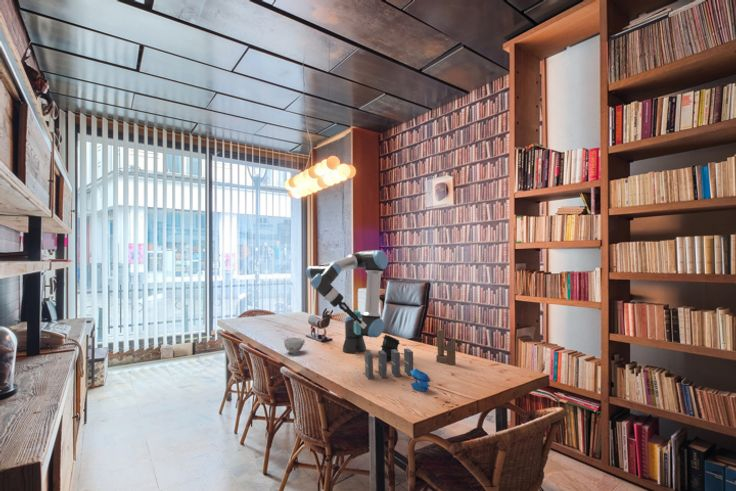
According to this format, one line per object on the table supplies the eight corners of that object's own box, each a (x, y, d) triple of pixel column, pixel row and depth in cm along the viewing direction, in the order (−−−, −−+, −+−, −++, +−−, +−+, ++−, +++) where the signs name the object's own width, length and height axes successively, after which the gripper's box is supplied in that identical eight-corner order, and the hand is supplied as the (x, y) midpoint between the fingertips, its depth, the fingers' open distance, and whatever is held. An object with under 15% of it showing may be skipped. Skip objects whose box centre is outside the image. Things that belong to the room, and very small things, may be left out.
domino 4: (408, 376, 184) (408, 352, 185) (404, 371, 191) (403, 348, 192) (413, 375, 185) (413, 351, 185) (408, 371, 192) (408, 348, 192)
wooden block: (452, 365, 202) (451, 332, 202) (436, 361, 210) (435, 329, 210) (456, 364, 204) (455, 331, 205) (440, 360, 212) (439, 329, 213)
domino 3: (395, 377, 183) (395, 353, 183) (391, 373, 190) (391, 349, 190) (400, 376, 183) (399, 352, 184) (395, 372, 190) (395, 349, 191)
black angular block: (376, 360, 207) (383, 334, 212) (390, 366, 216) (397, 340, 221) (381, 361, 205) (388, 335, 210) (395, 367, 213) (402, 341, 218)
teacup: (291, 355, 225) (291, 342, 225) (279, 352, 233) (279, 339, 234) (310, 351, 236) (310, 338, 237) (298, 348, 245) (298, 335, 245)
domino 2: (382, 378, 181) (381, 354, 182) (378, 374, 188) (378, 350, 188) (386, 378, 182) (386, 353, 182) (383, 373, 189) (382, 350, 189)
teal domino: (356, 334, 198) (356, 312, 198) (353, 332, 205) (353, 310, 205) (360, 334, 198) (360, 312, 199) (358, 332, 205) (357, 310, 206)
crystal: (429, 379, 159) (405, 368, 166) (425, 397, 160) (401, 386, 167) (436, 374, 165) (413, 364, 172) (432, 392, 166) (409, 381, 173)
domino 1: (368, 379, 180) (368, 355, 180) (365, 375, 186) (364, 351, 187) (373, 379, 180) (373, 354, 181) (369, 374, 187) (369, 351, 187)
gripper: (326, 300, 208) (355, 327, 211) (331, 304, 189) (362, 334, 192) (336, 290, 210) (364, 317, 213) (341, 294, 190) (372, 323, 193)
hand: (363, 325), depth 202 cm, fingers closed on teal domino, 7 cm apart
